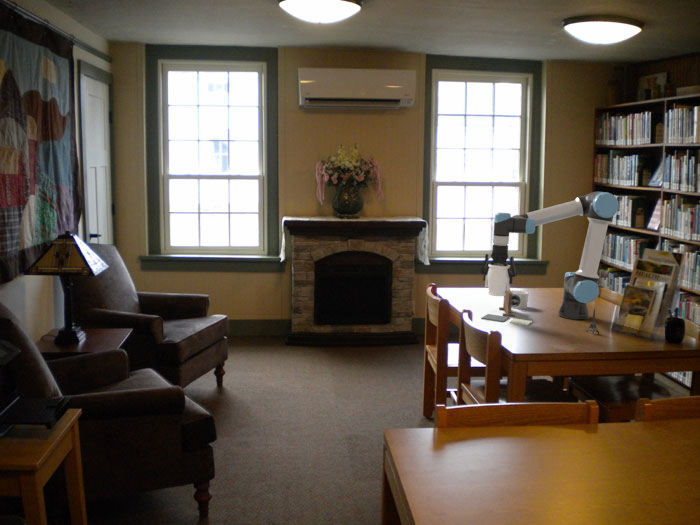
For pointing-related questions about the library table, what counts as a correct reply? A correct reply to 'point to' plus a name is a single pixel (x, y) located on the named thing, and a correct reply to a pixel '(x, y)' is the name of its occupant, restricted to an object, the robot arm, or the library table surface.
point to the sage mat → (520, 321)
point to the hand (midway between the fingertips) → (497, 289)
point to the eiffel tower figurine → (593, 324)
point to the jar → (497, 279)
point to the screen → (507, 304)
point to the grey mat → (495, 317)
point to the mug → (519, 299)
